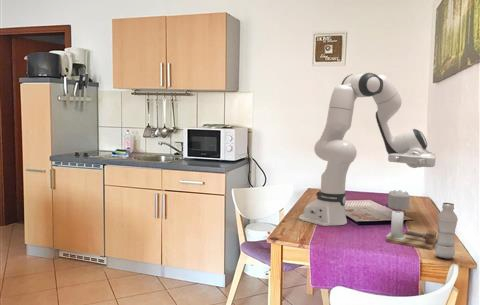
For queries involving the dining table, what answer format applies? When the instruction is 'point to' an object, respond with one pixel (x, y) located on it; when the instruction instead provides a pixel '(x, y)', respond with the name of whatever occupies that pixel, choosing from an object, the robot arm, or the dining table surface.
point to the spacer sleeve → (397, 224)
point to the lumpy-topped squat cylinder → (398, 200)
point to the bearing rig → (415, 239)
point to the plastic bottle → (446, 232)
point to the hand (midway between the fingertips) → (407, 160)
